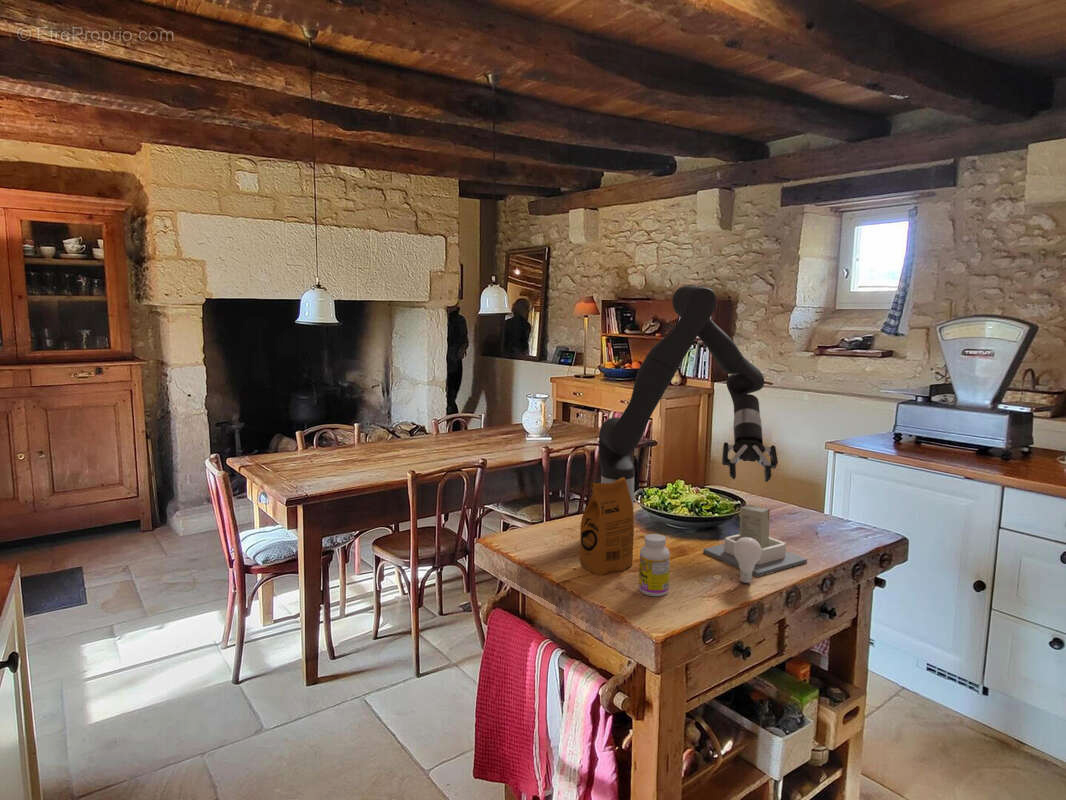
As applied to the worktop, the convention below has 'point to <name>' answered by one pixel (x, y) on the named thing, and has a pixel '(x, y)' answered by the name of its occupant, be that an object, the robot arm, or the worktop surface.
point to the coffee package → (607, 529)
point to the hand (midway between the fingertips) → (750, 479)
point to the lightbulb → (747, 556)
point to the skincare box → (755, 524)
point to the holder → (770, 558)
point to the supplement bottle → (654, 566)
